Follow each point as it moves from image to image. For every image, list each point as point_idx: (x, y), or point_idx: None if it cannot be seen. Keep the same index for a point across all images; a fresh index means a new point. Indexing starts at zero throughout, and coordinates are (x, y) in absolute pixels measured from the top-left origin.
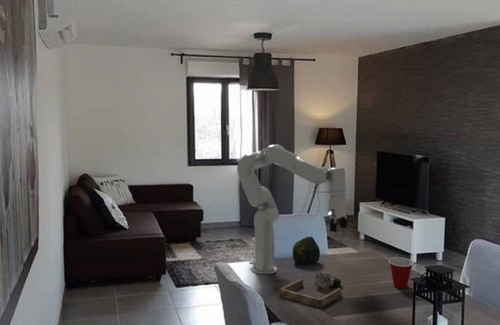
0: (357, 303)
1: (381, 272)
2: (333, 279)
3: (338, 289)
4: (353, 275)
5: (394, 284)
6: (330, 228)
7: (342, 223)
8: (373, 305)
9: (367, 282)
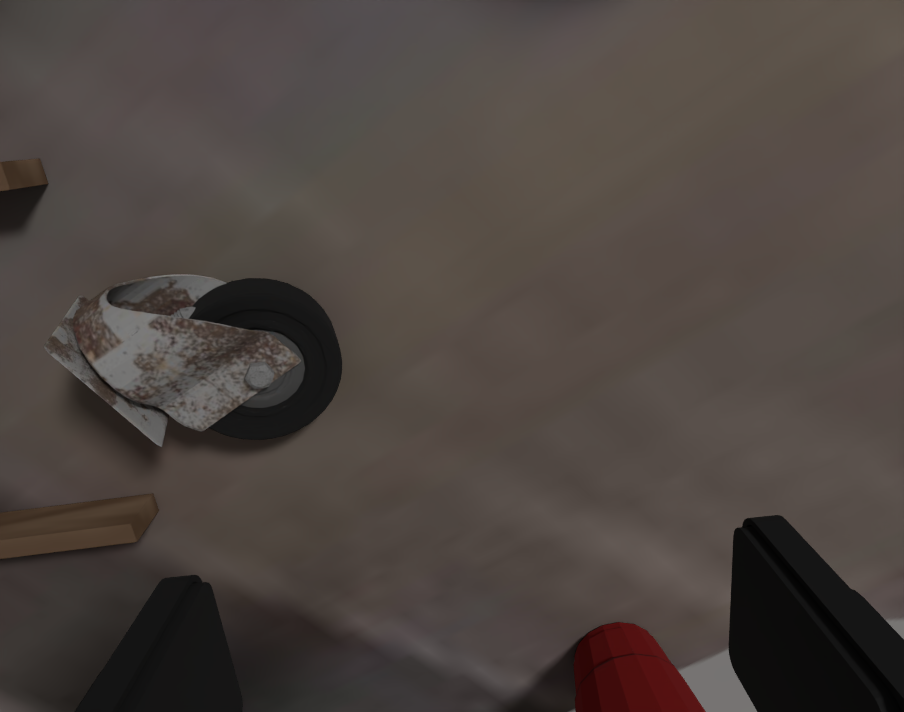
0: None
1: (837, 439)
2: (211, 421)
3: (104, 539)
4: (619, 329)
5: (582, 650)
6: (135, 640)
7: (794, 673)
8: None
9: (537, 488)
